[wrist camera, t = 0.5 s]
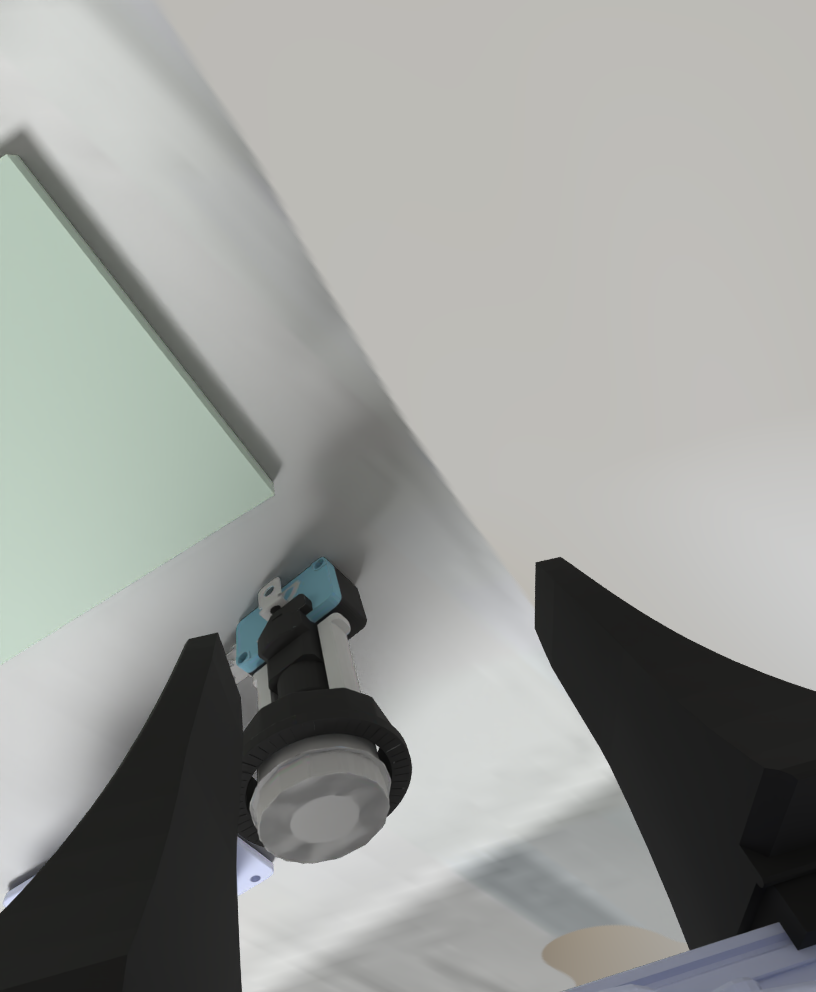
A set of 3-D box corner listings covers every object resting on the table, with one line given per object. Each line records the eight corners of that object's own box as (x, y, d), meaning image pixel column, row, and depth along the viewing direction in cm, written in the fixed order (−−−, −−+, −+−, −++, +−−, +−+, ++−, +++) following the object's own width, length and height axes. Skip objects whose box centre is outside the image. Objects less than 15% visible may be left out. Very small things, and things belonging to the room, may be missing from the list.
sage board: (0, 652, 23) (-8, 670, 22) (-345, 390, 17) (-375, 401, 16) (272, 483, 23) (274, 495, 22) (18, 155, 17) (6, 153, 16)
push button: (264, 691, 27) (279, 931, 19) (170, 624, 25) (137, 866, 16) (383, 599, 27) (456, 804, 18) (300, 520, 24) (339, 715, 15)
